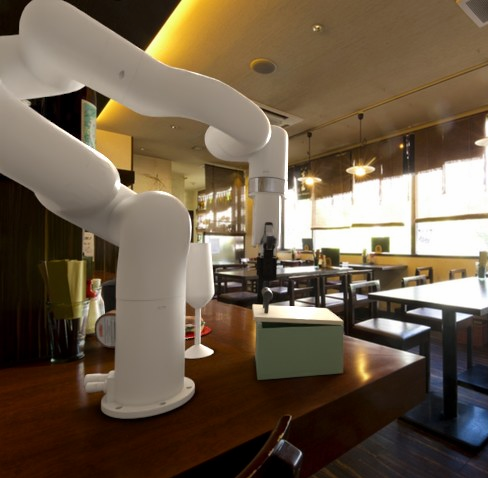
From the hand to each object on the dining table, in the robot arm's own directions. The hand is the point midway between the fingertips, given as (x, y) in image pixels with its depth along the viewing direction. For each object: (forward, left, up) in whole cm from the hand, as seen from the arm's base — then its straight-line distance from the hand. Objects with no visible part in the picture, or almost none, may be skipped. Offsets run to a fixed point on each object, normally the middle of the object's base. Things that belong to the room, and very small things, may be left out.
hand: (265, 278), depth 64 cm
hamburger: (-20, +29, -17) cm, 39 cm away
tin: (-30, +18, -17) cm, 39 cm away
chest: (+6, 0, -17) cm, 18 cm away
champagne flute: (-14, +11, -17) cm, 25 cm away
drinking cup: (-36, +30, -17) cm, 50 cm away
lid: (+6, 0, -8) cm, 10 cm away
